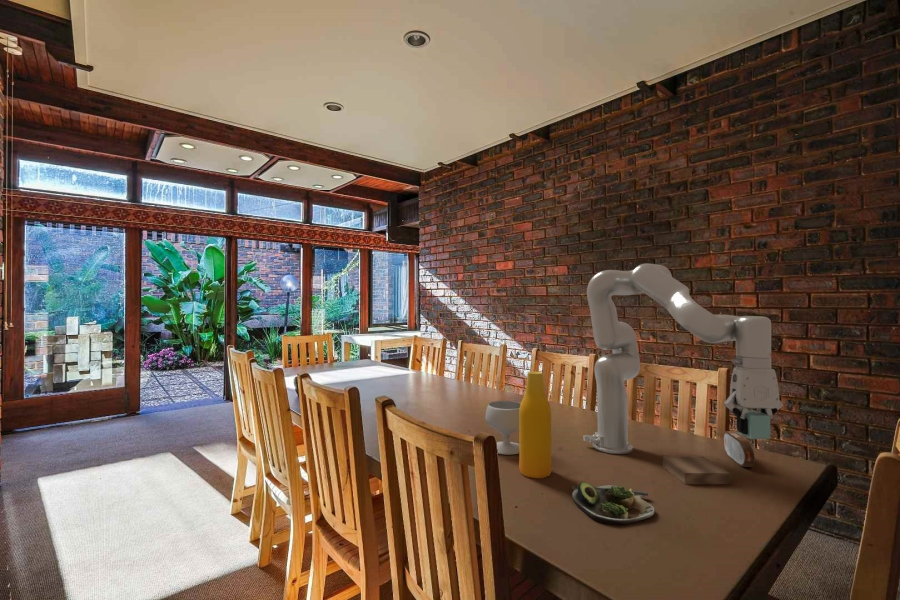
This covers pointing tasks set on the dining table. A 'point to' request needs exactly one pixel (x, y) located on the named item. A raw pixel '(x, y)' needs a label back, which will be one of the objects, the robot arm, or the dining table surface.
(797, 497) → the dining table surface
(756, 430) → the teal block
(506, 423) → the chalice
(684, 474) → the walnut base
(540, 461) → the beer bottle
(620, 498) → the salad plate
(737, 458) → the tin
